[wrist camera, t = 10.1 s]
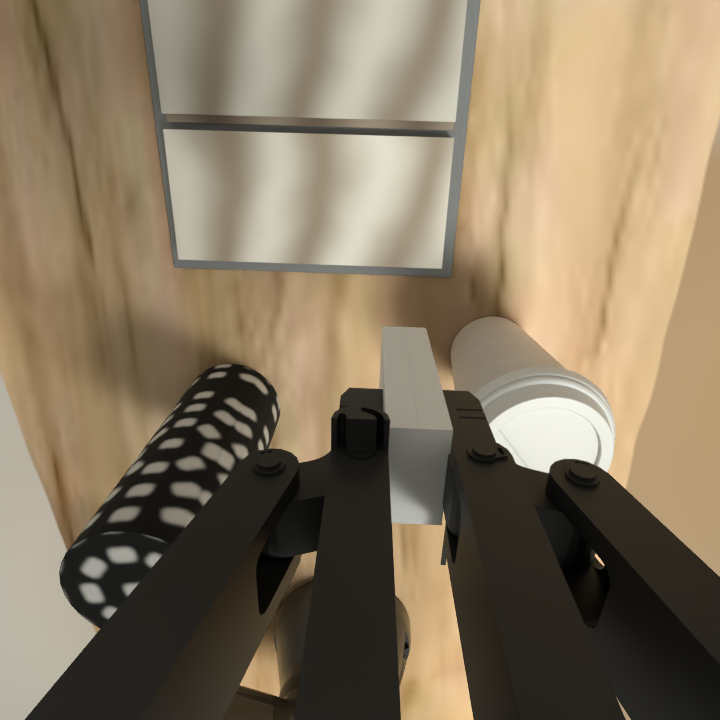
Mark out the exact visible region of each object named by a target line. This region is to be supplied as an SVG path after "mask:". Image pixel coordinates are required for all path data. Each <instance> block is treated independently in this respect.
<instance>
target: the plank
mask: <svg viewBox="0 0 720 720" xmlns="http://www.w3.org/2000/svg"><path fill="white" fill-rule="evenodd" d="M163 133H164V142H165V150H166V159H167V167H168V176H169V184H170V192H171V201H172V209H173V218H174V226H175V235H176V243H177V252H178V260H206V261H235V262H263V263H292V264H321V265H349V266H378V267H407V268H436V269H442V261H443V250H444V240H445V229H446V219H447V208H448V198H449V187H450V177H451V166H452V155H453V145H454V138H443V137H410V136H376V135H343V134H310V133H277V132H244V131H210V130H177V129H163Z"/></svg>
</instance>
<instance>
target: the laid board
mask: <svg viewBox="0 0 720 720" xmlns="http://www.w3.org/2000/svg"><path fill="white" fill-rule="evenodd" d="M147 1H148V9H149V17H150V25H151V33H152V41H153V49H154V57H155V65H156V73H157V81H158V89H159V97H160V105H161V113H163V114H166V117H167V122H191V123H224V124H258V125H291V126H325V127H358V128H392V129H425V130H453V126H454V122H456V112H457V101H458V91H459V81H460V71H461V60H462V50H463V40H464V29H465V19H466V9H467V0H147Z"/></svg>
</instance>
